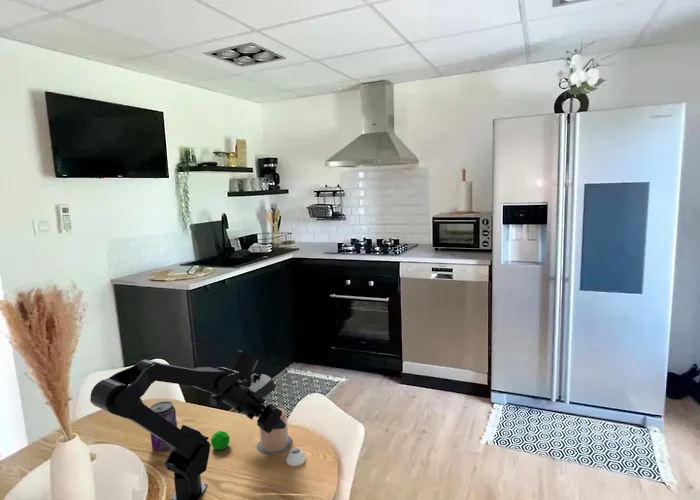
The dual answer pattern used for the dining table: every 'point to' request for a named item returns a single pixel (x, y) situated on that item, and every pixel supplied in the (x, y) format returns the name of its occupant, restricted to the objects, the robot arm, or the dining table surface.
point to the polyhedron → (220, 440)
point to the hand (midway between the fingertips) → (277, 421)
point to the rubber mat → (276, 451)
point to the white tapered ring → (295, 457)
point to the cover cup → (275, 436)
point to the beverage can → (167, 413)
